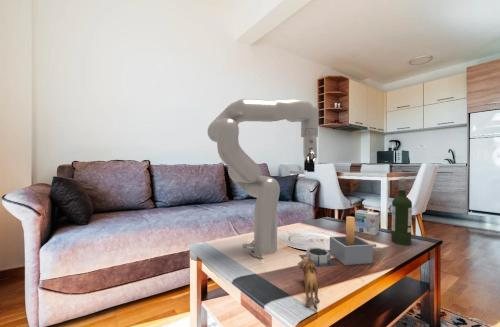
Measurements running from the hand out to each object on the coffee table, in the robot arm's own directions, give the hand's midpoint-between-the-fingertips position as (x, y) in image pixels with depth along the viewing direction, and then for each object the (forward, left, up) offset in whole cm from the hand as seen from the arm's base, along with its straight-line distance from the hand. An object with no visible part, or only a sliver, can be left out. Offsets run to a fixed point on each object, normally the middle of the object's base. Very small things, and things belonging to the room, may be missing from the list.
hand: (309, 171), depth 112 cm
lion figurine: (-17, -40, -34) cm, 55 cm away
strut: (+8, -21, -32) cm, 39 cm away
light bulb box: (+38, +12, -34) cm, 52 cm away
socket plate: (-5, -21, -33) cm, 40 cm away
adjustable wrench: (+18, -4, -34) cm, 39 cm away
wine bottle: (+44, -5, -34) cm, 56 cm away
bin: (+8, -21, -33) cm, 40 cm away
